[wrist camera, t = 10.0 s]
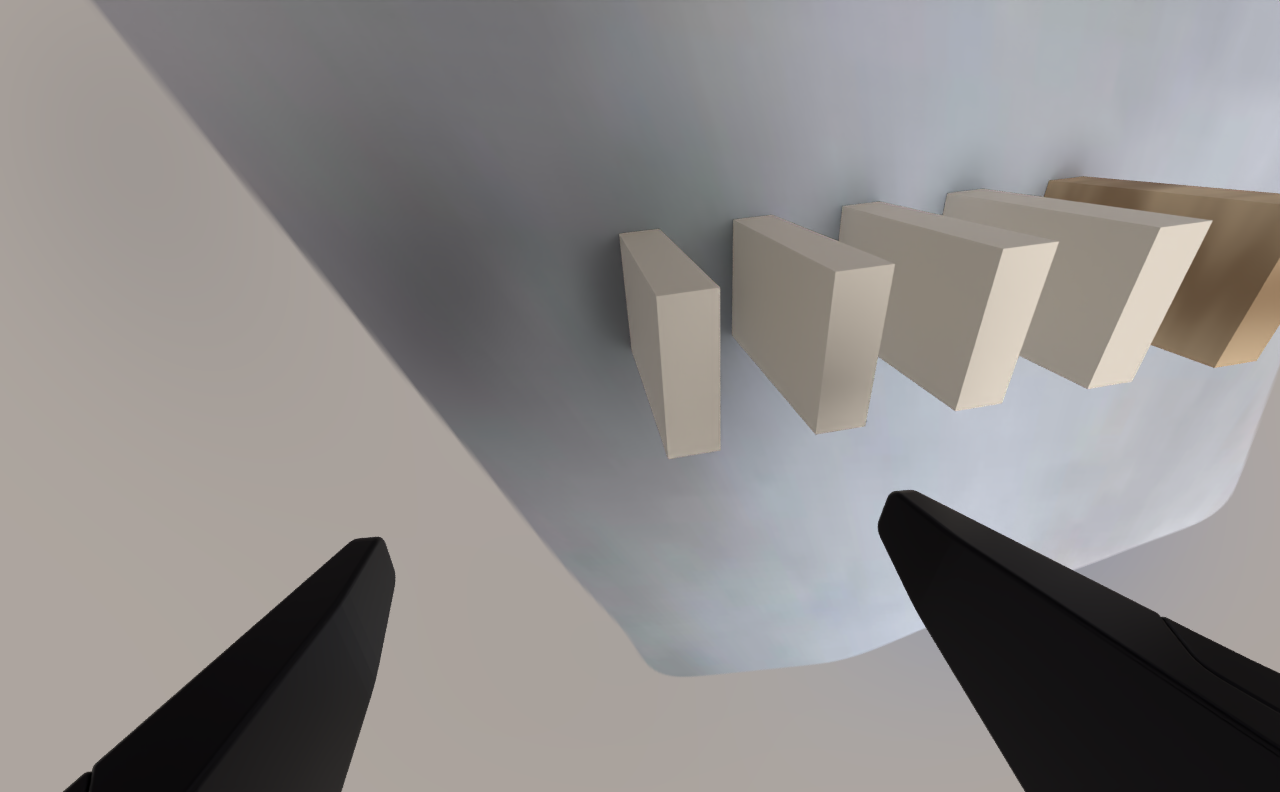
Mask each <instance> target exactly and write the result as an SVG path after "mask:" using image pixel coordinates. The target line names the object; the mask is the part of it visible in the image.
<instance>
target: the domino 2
mask: <svg viewBox="0 0 1280 792" xmlns="http://www.w3.org/2000/svg"><path fill="white" fill-rule="evenodd" d="M894 268H895V263H892V262H890V261H887V260H885V259H882V258H880V257H877V256H874V255H872V254H869V253H867V252H864V251H862V250H859V249H857V248H854V247H852V246H849V245H847V244H844V243H842V242H839V241H837V240H834V239H832V238H829V237H827V236H824V235H822V234H819V233H816V232H814V231H811V230H809V229H806V228H804V227H801V226H799V225H796V224H794V223H791V222H789V221H786V220H784V219H781V218H779V217H776V216H774V215H766V216H758V217H750V218H741V219H733V282H732V336H733V337H734V339H735V340H736V341H737V342H738V343H739V345H740V346H741V347H742V348H743V349H744V350H745V352H746V353H747V354H748V355H749V356H750V358H751V359H752V360H753V361H754V362H755V363H756V365H757V366H758V367H759V368H760V369H761V371H762V372H763V373H764V374H765V375H766V376H767V378H768V379H769V380H770V381H771V382H772V384H773V385H774V386H775V387H776V388H777V389H778V391H779V392H780V393H781V394H782V395H783V397H784V398H785V399H786V400H787V401H788V402H789V404H790V405H791V406H792V407H793V408H794V410H795V411H796V412H797V413H798V414H799V415H800V417H801V418H802V419H803V420H804V421H805V423H806V424H807V425H808V426H809V427H810V428H811V430H812V431H813V432H814V433H815V434H822V433H828V432H834V431H840V430H846V429H852V428H858V427H863V426H865V424H866V418H867V413H868V408H869V402H870V397H871V392H872V386H873V381H874V375H875V370H876V365H877V359H878V354H879V348H880V343H881V338H882V332H883V327H884V322H885V316H886V311H887V305H888V300H889V295H890V289H891V284H892V278H893V273H894Z"/></svg>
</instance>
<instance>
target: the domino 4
mask: <svg viewBox="0 0 1280 792" xmlns="http://www.w3.org/2000/svg"><path fill="white" fill-rule="evenodd" d="M943 216H947V217H952V218H956V219H961V220H965V221H970V222H974V223H979V224H983V225H988V226H992V227H997V228H1001V229H1006V230H1010V231H1015V232H1019V233H1024V234H1028V235H1033V236H1037V237H1042V238H1046V239H1051V240H1055V241H1059V243H1058V246H1057V249H1056V252H1055V255H1054V257H1053V260H1052V263H1051V266H1050V269H1049V272H1048V274H1047V277H1046V280H1045V283H1044V286H1043V289H1042V291H1041V294H1040V297H1039V300H1038V303H1037V306H1036V308H1035V311H1034V314H1033V317H1032V320H1031V323H1030V325H1029V328H1028V331H1027V334H1026V337H1025V340H1024V342H1023V345H1022V348H1021V351H1020V354H1019V356H1021V357H1023V358H1025V359H1027V360H1029V361H1031V362H1033V363H1035V364H1037V365H1039V366H1041V367H1044V368H1046V369H1048V370H1050V371H1052V372H1054V373H1056V374H1058V375H1060V376H1062V377H1064V378H1066V379H1068V380H1070V381H1072V382H1074V383H1076V384H1078V385H1080V386H1082V387H1084V388H1086V389H1091V388H1096V387H1102V386H1108V385H1114V384H1120V383H1126V382H1132V380H1133V378H1134V376H1135V374H1136V372H1137V370H1138V368H1139V366H1140V364H1141V362H1142V360H1143V358H1144V356H1145V354H1146V352H1147V350H1148V348H1149V347H1150V345H1151V343H1152V341H1153V339H1154V337H1155V335H1156V333H1157V331H1158V329H1159V327H1160V325H1161V323H1162V321H1163V319H1164V317H1165V315H1166V313H1167V311H1168V309H1169V307H1170V305H1171V303H1172V301H1173V299H1174V297H1175V295H1176V293H1177V291H1178V289H1179V287H1180V285H1181V283H1182V281H1183V279H1184V277H1185V275H1186V273H1187V271H1188V269H1189V267H1190V265H1191V263H1192V261H1193V259H1194V257H1195V255H1196V253H1197V251H1198V249H1199V247H1200V245H1201V243H1202V241H1203V239H1204V237H1205V235H1206V233H1207V231H1208V229H1209V227H1210V225H1211V223H1212V221H1213V220H1206V219H1199V218H1192V217H1184V216H1177V215H1170V214H1163V213H1155V212H1148V211H1141V210H1134V209H1126V208H1119V207H1112V206H1105V205H1097V204H1090V203H1083V202H1076V201H1068V200H1061V199H1054V198H1047V197H1040V196H1032V195H1025V194H1018V193H1011V192H1003V191H996V190H989V189H976V190H968V191H960V192H952V193H947V197H946V202H945V206H944V211H943Z"/></svg>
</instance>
